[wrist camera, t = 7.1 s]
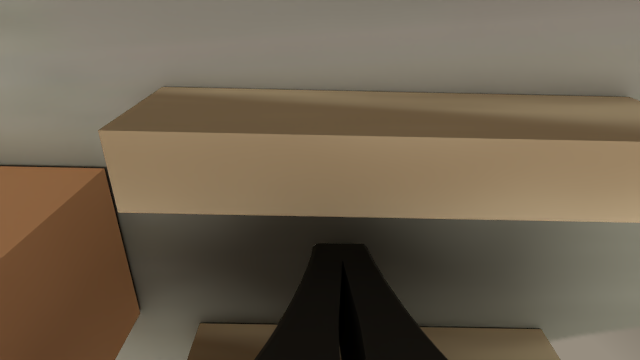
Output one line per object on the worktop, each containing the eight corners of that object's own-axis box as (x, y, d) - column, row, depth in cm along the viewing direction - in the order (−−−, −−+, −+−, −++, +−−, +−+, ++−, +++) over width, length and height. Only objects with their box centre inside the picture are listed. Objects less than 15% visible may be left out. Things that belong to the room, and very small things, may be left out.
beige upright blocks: (528, 363, 14) (579, 457, 11) (205, 357, 13) (176, 451, 11) (629, 97, 9) (752, 144, 7) (162, 86, 9) (98, 130, 7)
